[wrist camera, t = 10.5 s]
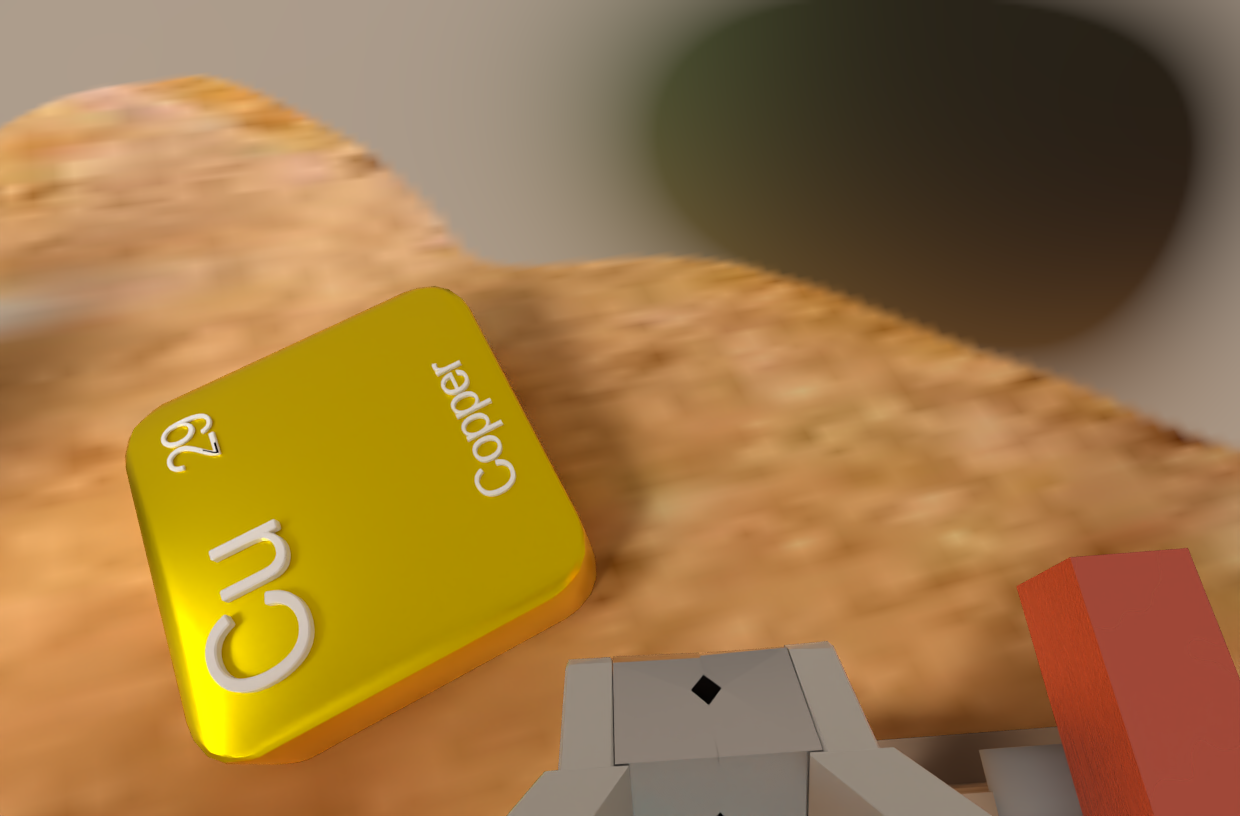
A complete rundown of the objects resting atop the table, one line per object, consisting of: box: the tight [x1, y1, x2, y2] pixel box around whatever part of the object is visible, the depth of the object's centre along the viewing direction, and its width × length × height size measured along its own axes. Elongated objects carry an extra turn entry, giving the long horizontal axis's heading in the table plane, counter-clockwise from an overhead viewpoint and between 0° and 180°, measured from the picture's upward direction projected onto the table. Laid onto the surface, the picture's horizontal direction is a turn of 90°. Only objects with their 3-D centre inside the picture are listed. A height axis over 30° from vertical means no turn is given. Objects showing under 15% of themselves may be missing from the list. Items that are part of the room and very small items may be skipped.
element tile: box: [125, 286, 597, 764], centre depth 30 cm, size 15×15×5 cm
